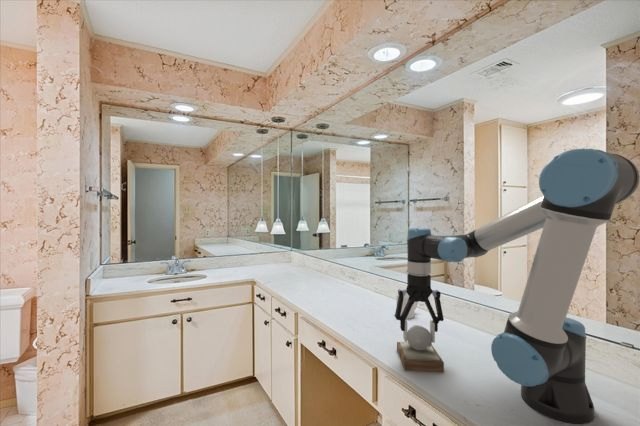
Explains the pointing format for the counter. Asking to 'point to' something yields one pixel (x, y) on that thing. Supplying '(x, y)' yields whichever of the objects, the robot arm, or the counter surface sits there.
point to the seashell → (419, 337)
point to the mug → (405, 300)
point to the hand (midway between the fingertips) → (418, 340)
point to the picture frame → (419, 358)
